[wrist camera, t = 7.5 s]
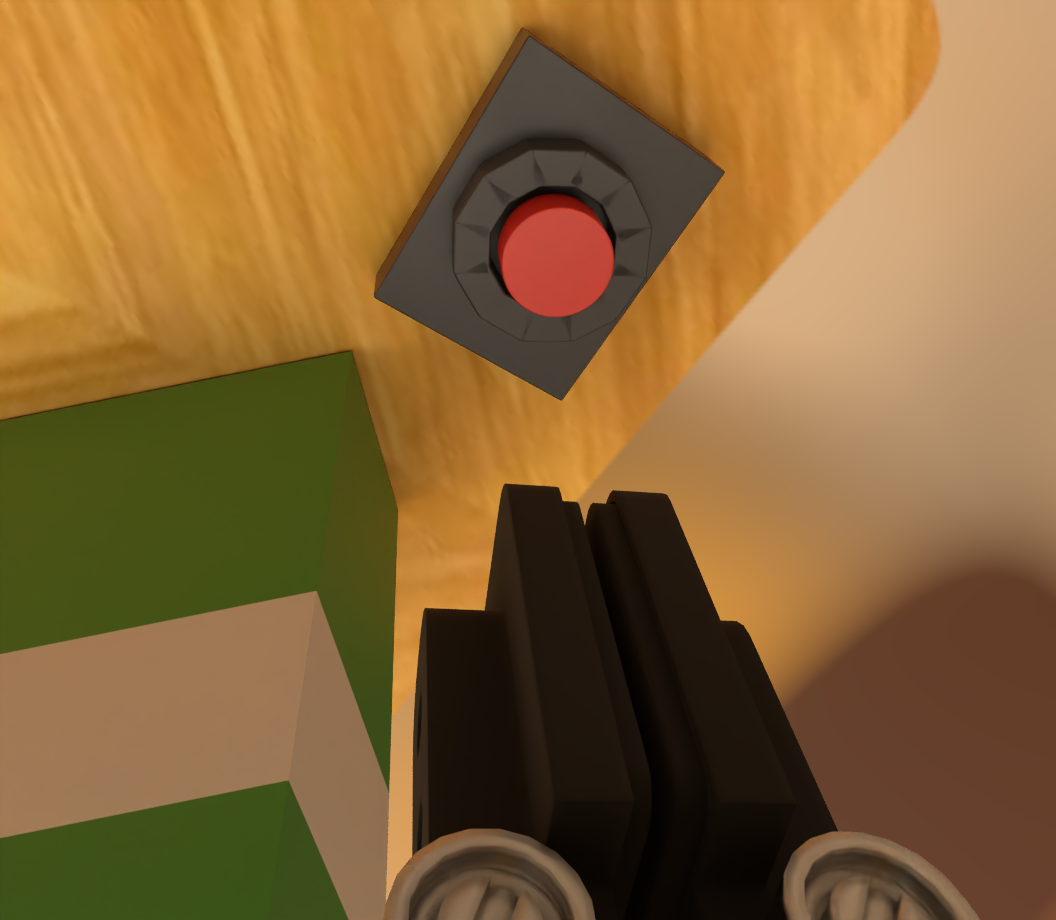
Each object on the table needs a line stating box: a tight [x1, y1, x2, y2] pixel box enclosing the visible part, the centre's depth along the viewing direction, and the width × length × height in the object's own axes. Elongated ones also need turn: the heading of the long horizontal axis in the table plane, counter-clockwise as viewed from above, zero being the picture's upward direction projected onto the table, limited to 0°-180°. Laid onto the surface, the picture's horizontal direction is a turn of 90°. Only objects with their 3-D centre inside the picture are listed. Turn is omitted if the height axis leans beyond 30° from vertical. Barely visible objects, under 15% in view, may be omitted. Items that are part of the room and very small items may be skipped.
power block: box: [374, 28, 725, 401], centre depth 33 cm, size 10×8×4 cm
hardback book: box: [0, 351, 398, 920], centre depth 28 cm, size 18×7×24 cm, turn 100°
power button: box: [498, 193, 614, 317], centre depth 31 cm, size 4×4×2 cm
